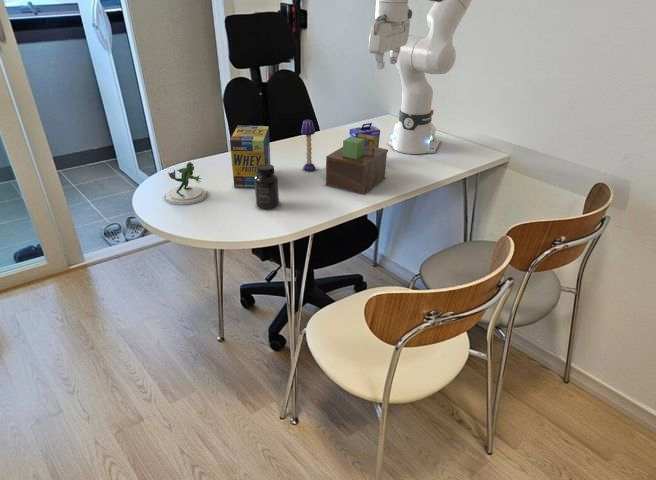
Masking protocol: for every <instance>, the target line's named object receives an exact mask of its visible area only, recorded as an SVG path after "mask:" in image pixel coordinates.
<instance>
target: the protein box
mask: <svg viewBox="0 0 656 480" xmlns="http://www.w3.org/2000/svg"><path fill="white" fill-rule="evenodd" d="M270 144H271V143H270V127H269V126H268V125H267V126H264V125H239V124H237V126H236V127H235V130H234V132H233V133H232V135H231V137H230V139H229V148H230V155H231V156H230V157H231V158H230V159H231V168H232V169H231V170H232V177H233V178H232V179H233V187H234V188H244V189H245V188H246V189H247V188H253V189H255V180H254V179H255V177H256V176H257V175H258V174H257V166H259V165H262V164H270V165H271V145H270Z"/></svg>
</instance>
